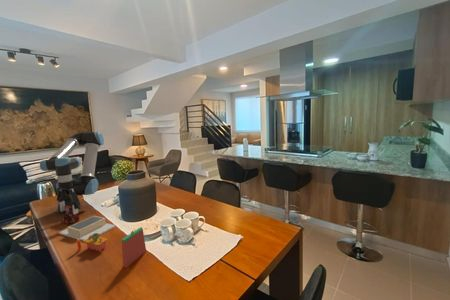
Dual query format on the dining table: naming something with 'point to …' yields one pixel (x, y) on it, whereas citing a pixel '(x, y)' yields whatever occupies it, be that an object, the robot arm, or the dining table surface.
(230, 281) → the dining table surface
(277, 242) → the dining table surface
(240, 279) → the dining table surface
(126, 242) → the toy building block set
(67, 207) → the toy fire truck
